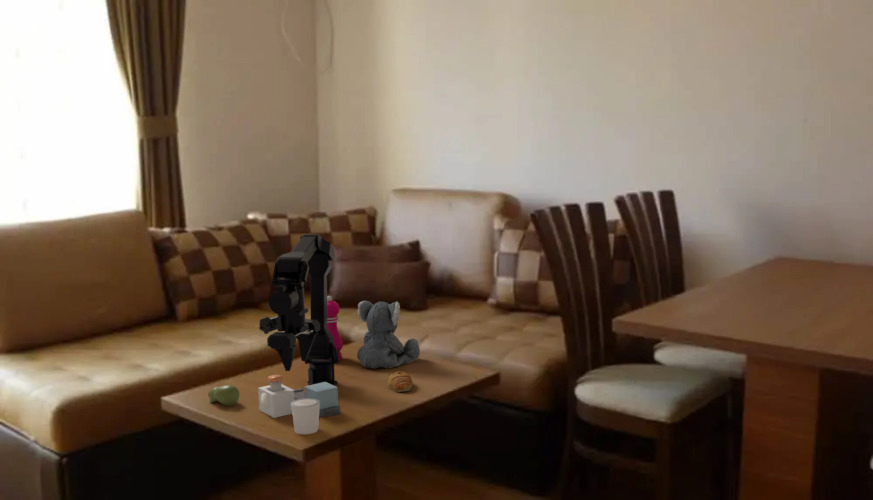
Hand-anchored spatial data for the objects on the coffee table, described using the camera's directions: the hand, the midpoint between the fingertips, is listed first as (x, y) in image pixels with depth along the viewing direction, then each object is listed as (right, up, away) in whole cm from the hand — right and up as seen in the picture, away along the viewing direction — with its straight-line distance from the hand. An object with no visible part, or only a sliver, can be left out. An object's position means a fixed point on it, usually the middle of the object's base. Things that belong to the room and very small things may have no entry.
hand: (295, 365), depth 227 cm
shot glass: (+4, -14, -12) cm, 19 cm away
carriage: (+6, -12, +2) cm, 13 cm away
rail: (+3, -11, +6) cm, 13 cm away
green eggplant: (-21, -11, +10) cm, 26 cm away
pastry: (+26, -9, +20) cm, 34 cm away
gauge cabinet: (-5, -12, +2) cm, 13 cm away
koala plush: (+20, -5, +45) cm, 49 cm away
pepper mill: (+3, -5, +50) cm, 50 cm away
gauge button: (-5, -9, +2) cm, 10 cm away
